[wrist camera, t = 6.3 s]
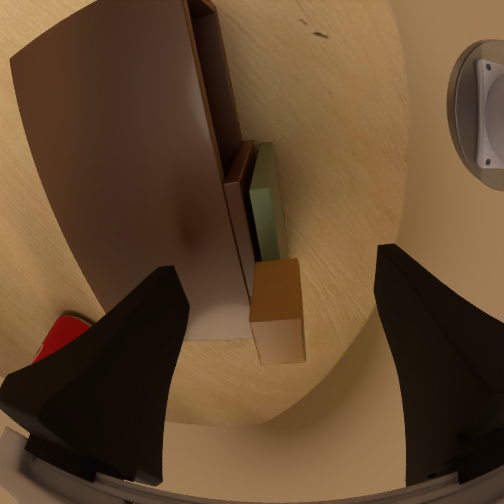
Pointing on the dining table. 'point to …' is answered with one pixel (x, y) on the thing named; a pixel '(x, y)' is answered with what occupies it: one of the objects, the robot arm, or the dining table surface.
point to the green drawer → (274, 272)
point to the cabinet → (145, 154)
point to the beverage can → (61, 335)
